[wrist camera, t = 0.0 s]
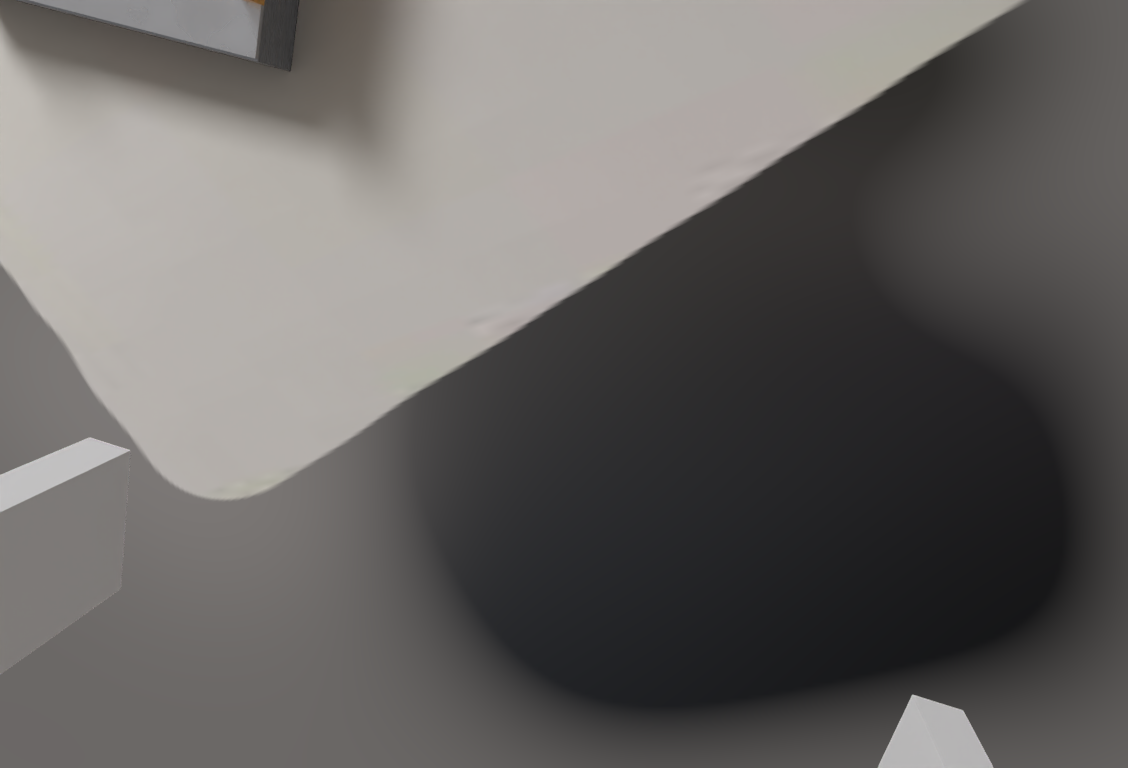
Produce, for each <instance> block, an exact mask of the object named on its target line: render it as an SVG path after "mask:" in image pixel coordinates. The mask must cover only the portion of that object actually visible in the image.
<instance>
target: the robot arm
mask: <svg viewBox="0 0 1128 768" xmlns="http://www.w3.org/2000/svg"><path fill="white" fill-rule="evenodd" d="M130 454H131V450H128V449H125V448H122V447H119V446H116V445H112V444H109V443H106V442H103V441H99V440H96V439H93V438H90V437H89V438H87V439H85V440H83V441H80V442H78V443H75V444H73V445H70V446H68V447H65V448H63V449H61V450H58V451H56V452H54V453H51V454H49V455H47V456H44V457H42V458H40V459H37V460H35V461H32V462H30V463H28V464H25V465H23V466H20V467H18V468H16V469H13V470H11V471H8V472H7V473H4V474H1V475H0V674H2V673H3V672H5V671H6V670H7V669H9V668H10V667H12V666H13V665H15V664H16V663H17V662H19V661H20V660H22V659H23V658H24V657H26V656H27V655H28V654H30V653H31V652H33V651H34V650H35V649H37V648H38V647H40V646H41V645H43V644H44V643H45V642H47V641H48V640H50V639H51V638H52V637H54V636H55V635H57V634H58V633H59V632H61V631H62V630H64V629H65V628H66V627H68V626H69V625H71V624H72V623H74V622H75V621H76V620H78V619H79V618H80V617H82V616H83V615H85V614H86V613H87V612H89V611H90V610H92V609H93V608H95V607H96V606H97V605H99V604H100V603H101V602H103V601H104V600H106V599H107V598H108V597H110V596H111V595H113V594H114V593H115V592H117V591H118V590H120V589H121V578H122V565H123V550H124V536H125V523H126V509H127V495H128V480H129V468H130ZM878 768H993V766H992V764H991V762H990V760H989V758H988V756H987V754H986V753H985V751H984V749H983V747H982V745H981V743H980V741H979V739H978V738H977V736H976V734H975V733H974V730H973V728H972V726H971V725H970V723H969V721H968V719H967V717H966V715H965V713H964V711H963V710H960V709H957V708H954V707H950V706H947V705H944V704H941V703H938V702H934V701H931V700H928V699H925V698H921V697H918V696H915V695H912V697H911V699H910V701H909V703H908V705H907V707H906V710H905V711H904V714H903V716H902V718H901V720H900V722H899V724H898V726H897V728H896V730H895V732H894V734H893V737H892V739H891V741H890V743H889V745H888V747H887V749H886V751H885V753H884V755H883V758H882V760H881V762H880V764H879V766H878Z"/></svg>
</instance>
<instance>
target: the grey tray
mask: <svg viewBox="0 0 1128 768" xmlns="http://www.w3.org/2000/svg"><path fill="white" fill-rule="evenodd" d="M16 1H20V2H24V3H28V4H32V5H36V6H40V7H43V8H47V9H51V10H55V11H59V12H63V13H67V14H71V15H74V16H78V17H82V18H86V19H90V20H94V21H98V22H102V23H105V24H109V25H113V26H117V27H121V28H125V29H129V30H132V31H136V32H140V33H144V34H148V35H152V36H156V37H160V38H163V39H167V40H171V41H175V42H179V43H183V44H187V45H191V46H194V47H198V48H202V49H206V50H210V51H214V52H218V53H221V54H225V55H229V56H233V57H237V58H241V59H245V60H249V61H252V62H256V63H260V64H264V65H268V66H272V67H276V68H280V69H283V70H287V71H290V69H291V61H292V53H293V45H294V36H295V28H296V20H297V12H298V4H299V0H16Z"/></svg>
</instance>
